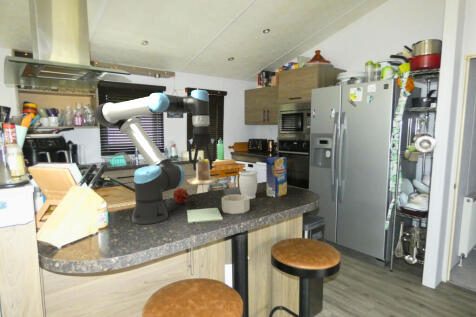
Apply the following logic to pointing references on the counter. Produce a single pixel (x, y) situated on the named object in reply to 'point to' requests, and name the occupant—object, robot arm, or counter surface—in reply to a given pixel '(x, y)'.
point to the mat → (203, 215)
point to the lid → (203, 176)
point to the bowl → (235, 204)
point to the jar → (248, 183)
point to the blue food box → (276, 176)
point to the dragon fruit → (181, 195)
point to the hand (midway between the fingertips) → (203, 177)
